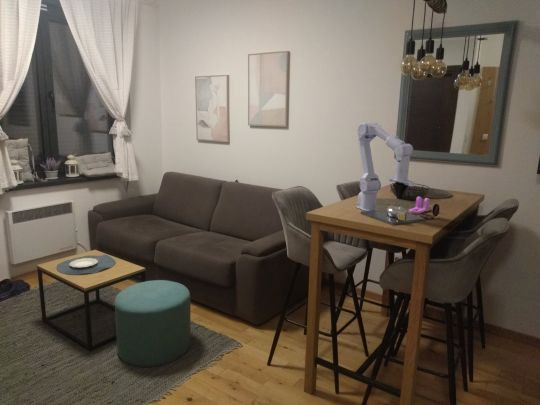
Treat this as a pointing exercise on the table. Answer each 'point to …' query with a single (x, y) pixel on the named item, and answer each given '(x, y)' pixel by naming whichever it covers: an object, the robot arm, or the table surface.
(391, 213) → the silver disc with handle
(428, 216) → the compass
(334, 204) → the table surface
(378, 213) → the plate
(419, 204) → the bracket
